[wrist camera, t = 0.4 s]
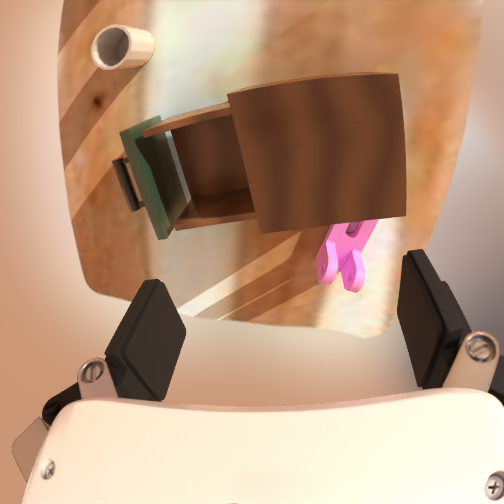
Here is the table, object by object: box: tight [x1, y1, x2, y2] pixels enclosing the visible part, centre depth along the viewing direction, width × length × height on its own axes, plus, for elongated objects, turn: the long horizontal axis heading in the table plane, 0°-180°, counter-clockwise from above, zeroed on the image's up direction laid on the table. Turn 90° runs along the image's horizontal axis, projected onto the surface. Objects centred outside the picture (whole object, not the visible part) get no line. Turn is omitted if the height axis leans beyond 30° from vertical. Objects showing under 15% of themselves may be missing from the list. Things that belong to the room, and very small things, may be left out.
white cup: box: [91, 25, 155, 70], centre depth 28 cm, size 6×6×6 cm
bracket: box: [315, 219, 379, 292], centre depth 39 cm, size 13×6×7 cm, turn 164°
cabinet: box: [227, 72, 406, 234], centre depth 31 cm, size 16×15×11 cm
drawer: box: [112, 102, 257, 240], centre depth 34 cm, size 19×13×9 cm
